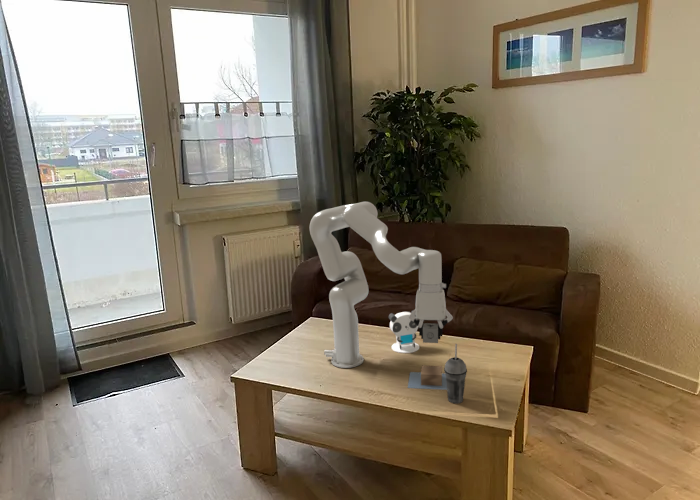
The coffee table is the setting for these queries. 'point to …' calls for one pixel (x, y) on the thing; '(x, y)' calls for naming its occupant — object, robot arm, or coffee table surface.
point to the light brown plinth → (431, 375)
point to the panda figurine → (403, 332)
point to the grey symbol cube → (430, 333)
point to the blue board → (416, 383)
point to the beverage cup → (455, 378)
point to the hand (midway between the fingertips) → (430, 337)
